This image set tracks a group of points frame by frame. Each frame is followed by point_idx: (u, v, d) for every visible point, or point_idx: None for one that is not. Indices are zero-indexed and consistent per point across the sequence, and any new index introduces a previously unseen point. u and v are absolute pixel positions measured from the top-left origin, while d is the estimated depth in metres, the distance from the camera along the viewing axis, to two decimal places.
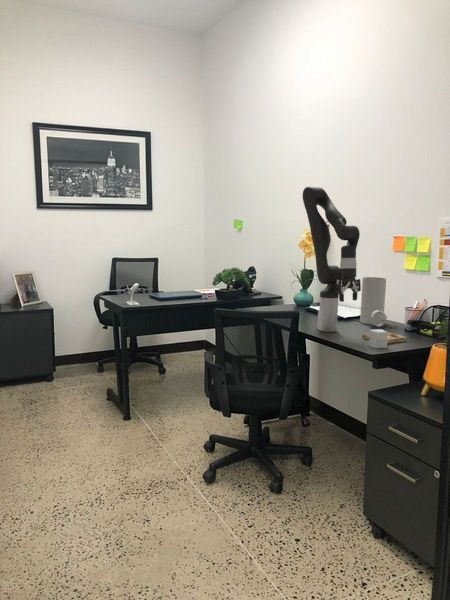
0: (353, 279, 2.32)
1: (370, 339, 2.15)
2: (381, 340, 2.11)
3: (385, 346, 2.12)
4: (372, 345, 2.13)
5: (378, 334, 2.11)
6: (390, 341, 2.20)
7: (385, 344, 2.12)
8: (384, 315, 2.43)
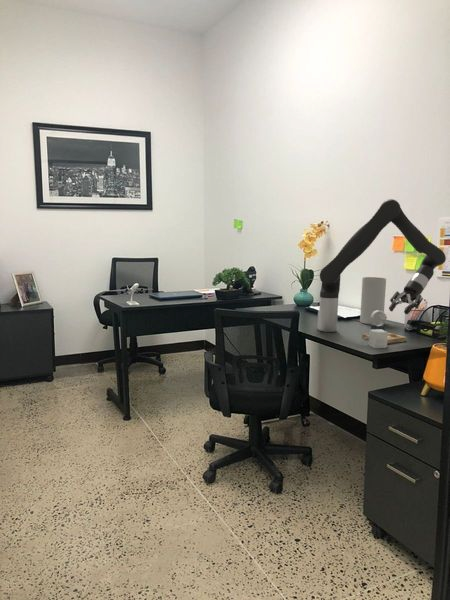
0: None
1: (370, 339, 2.15)
2: (381, 340, 2.11)
3: (385, 346, 2.12)
4: (372, 345, 2.13)
5: (378, 334, 2.11)
6: (390, 341, 2.20)
7: (385, 344, 2.12)
8: (384, 315, 2.43)
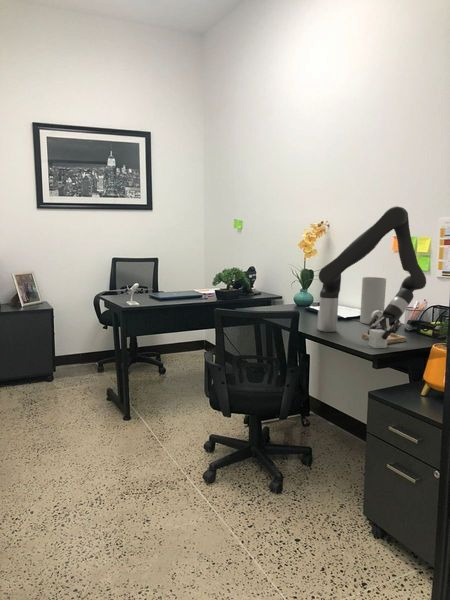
0: None
1: (370, 339, 2.15)
2: (381, 340, 2.11)
3: (385, 346, 2.12)
4: (372, 345, 2.13)
5: (378, 334, 2.11)
6: (390, 341, 2.20)
7: (385, 344, 2.12)
8: None
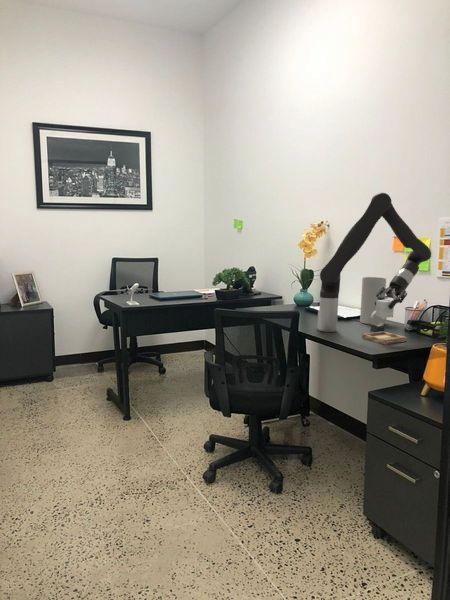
0: None
1: (377, 309, 2.24)
2: (387, 310, 2.20)
3: (391, 315, 2.21)
4: (379, 315, 2.22)
5: (385, 303, 2.20)
6: (390, 341, 2.20)
7: (391, 313, 2.21)
8: None
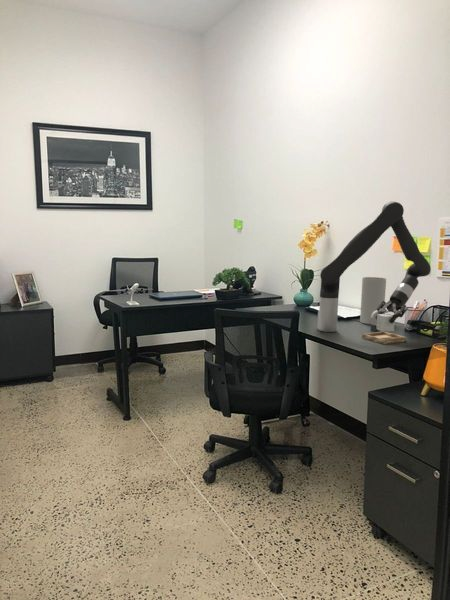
0: None
1: (378, 323, 2.28)
2: (388, 324, 2.24)
3: (392, 329, 2.25)
4: (380, 329, 2.26)
5: (386, 318, 2.23)
6: (390, 341, 2.20)
7: (392, 327, 2.25)
8: None
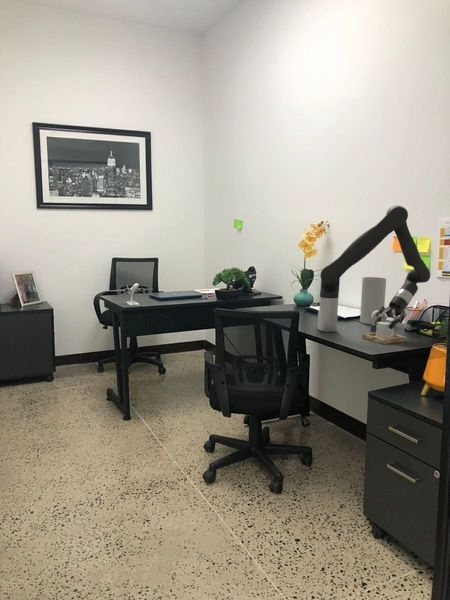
0: None
1: (377, 331, 2.28)
2: (388, 332, 2.25)
3: (391, 337, 2.25)
4: (379, 336, 2.26)
5: (385, 326, 2.24)
6: (390, 341, 2.20)
7: (391, 335, 2.25)
8: None
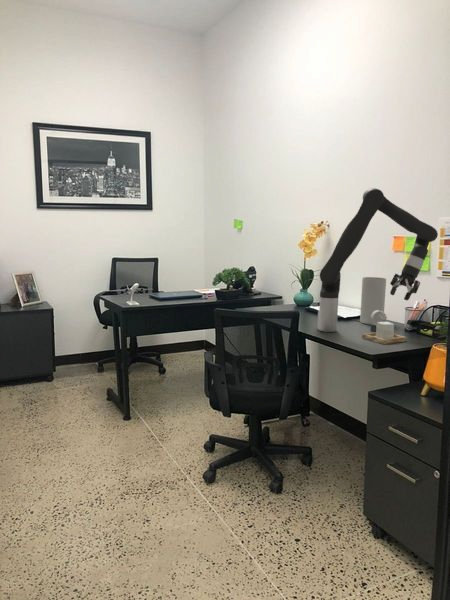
0: None
1: (377, 331, 2.28)
2: (388, 332, 2.25)
3: (391, 337, 2.25)
4: (379, 336, 2.26)
5: (385, 326, 2.24)
6: (390, 341, 2.20)
7: (391, 335, 2.25)
8: (384, 315, 2.43)
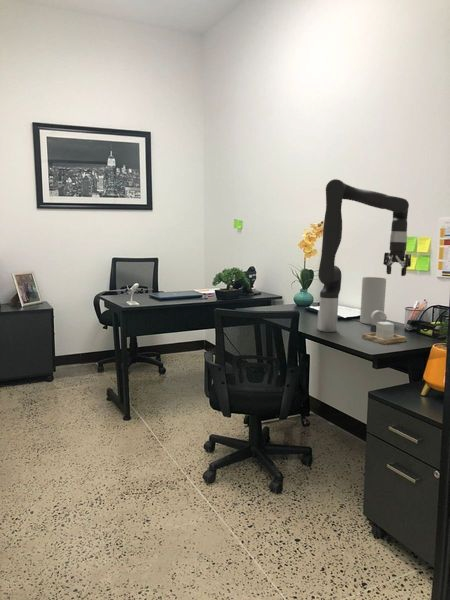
0: None
1: (377, 331, 2.28)
2: (388, 332, 2.25)
3: (391, 337, 2.25)
4: (379, 336, 2.26)
5: (385, 326, 2.24)
6: (390, 341, 2.20)
7: (391, 335, 2.25)
8: (384, 315, 2.43)
